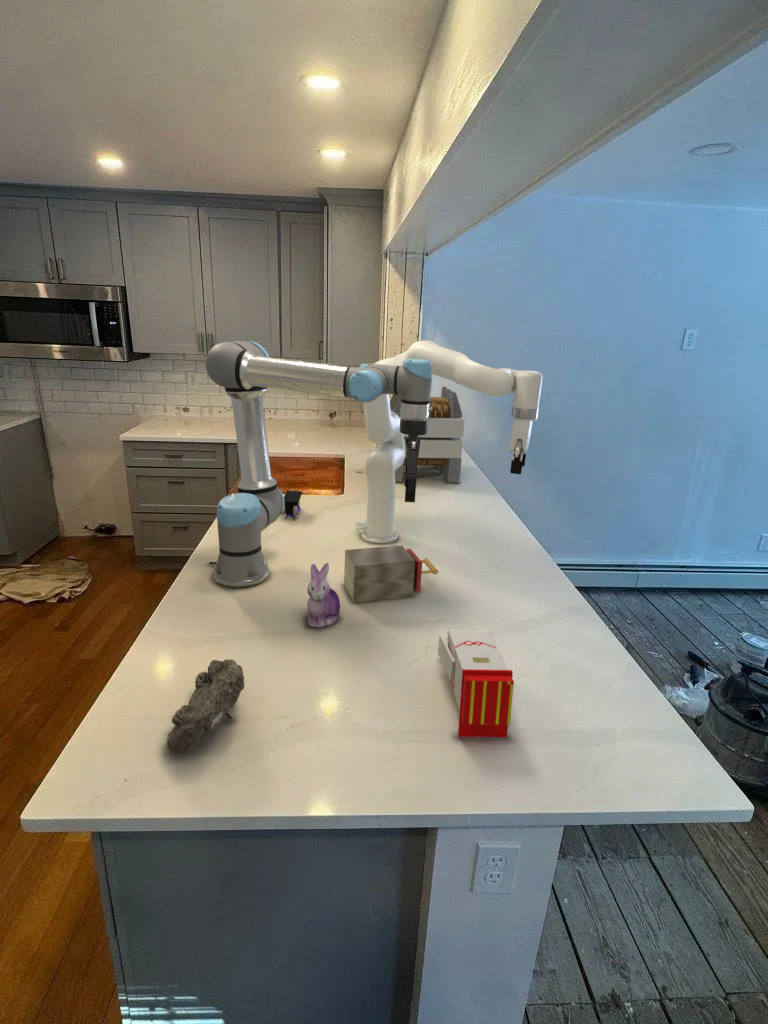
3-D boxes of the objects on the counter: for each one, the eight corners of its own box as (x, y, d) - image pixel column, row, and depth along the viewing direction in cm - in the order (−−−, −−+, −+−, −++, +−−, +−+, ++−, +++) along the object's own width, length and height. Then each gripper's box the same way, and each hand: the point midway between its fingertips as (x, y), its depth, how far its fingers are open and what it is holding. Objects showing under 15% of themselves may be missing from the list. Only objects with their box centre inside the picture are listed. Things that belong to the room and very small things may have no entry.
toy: (488, 613, 130) (523, 677, 101) (484, 667, 133) (517, 744, 104) (435, 612, 130) (455, 676, 101) (432, 666, 133) (451, 743, 103)
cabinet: (400, 579, 166) (402, 545, 163) (412, 596, 157) (415, 560, 153) (344, 585, 162) (344, 549, 158) (353, 603, 152) (354, 566, 148)
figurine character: (298, 524, 207) (303, 507, 221) (298, 506, 204) (302, 489, 217) (280, 524, 207) (285, 506, 220) (279, 505, 204) (285, 488, 217)
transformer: (382, 463, 289) (386, 382, 275) (445, 464, 293) (451, 384, 279) (390, 482, 257) (394, 392, 243) (460, 483, 261) (468, 394, 247)
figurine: (312, 633, 137) (312, 577, 132) (298, 613, 145) (298, 559, 140) (348, 624, 141) (349, 570, 136) (332, 606, 150) (333, 554, 144)
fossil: (192, 660, 117) (244, 628, 112) (224, 691, 120) (276, 661, 115) (142, 746, 98) (202, 712, 93) (182, 779, 101) (242, 748, 96)
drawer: (426, 574, 168) (428, 547, 165) (438, 589, 159) (440, 560, 156) (357, 581, 162) (358, 553, 159) (366, 597, 153) (367, 567, 150)
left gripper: (430, 428, 140) (424, 509, 147) (426, 411, 163) (421, 481, 171) (400, 427, 140) (395, 508, 147) (400, 410, 163) (396, 480, 171)
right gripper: (515, 408, 176) (508, 461, 182) (507, 417, 161) (501, 475, 167) (539, 410, 174) (532, 464, 180) (534, 419, 159) (527, 478, 165)
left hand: (409, 494), depth 159 cm, fingers open, 13 cm apart
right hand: (517, 469), depth 173 cm, fingers open, 9 cm apart
